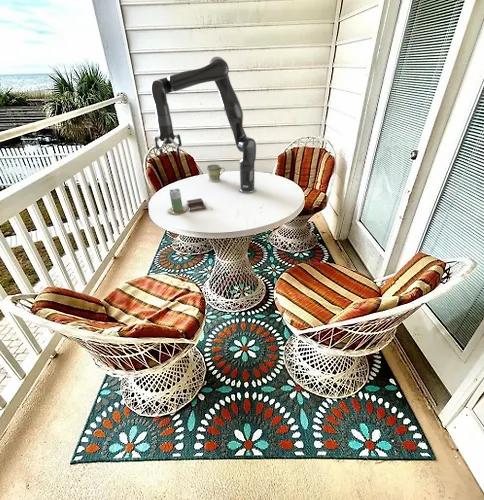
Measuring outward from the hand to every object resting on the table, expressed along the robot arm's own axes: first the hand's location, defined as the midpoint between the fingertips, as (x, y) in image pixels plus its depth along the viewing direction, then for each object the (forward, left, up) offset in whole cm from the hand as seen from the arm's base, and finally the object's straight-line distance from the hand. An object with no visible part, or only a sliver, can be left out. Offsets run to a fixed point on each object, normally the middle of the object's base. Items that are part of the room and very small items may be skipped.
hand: (170, 155), depth 155 cm
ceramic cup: (-40, +8, -28) cm, 50 cm away
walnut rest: (+4, +15, -28) cm, 32 cm away
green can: (+12, +7, -22) cm, 26 cm away
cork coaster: (+12, +7, -28) cm, 31 cm away
